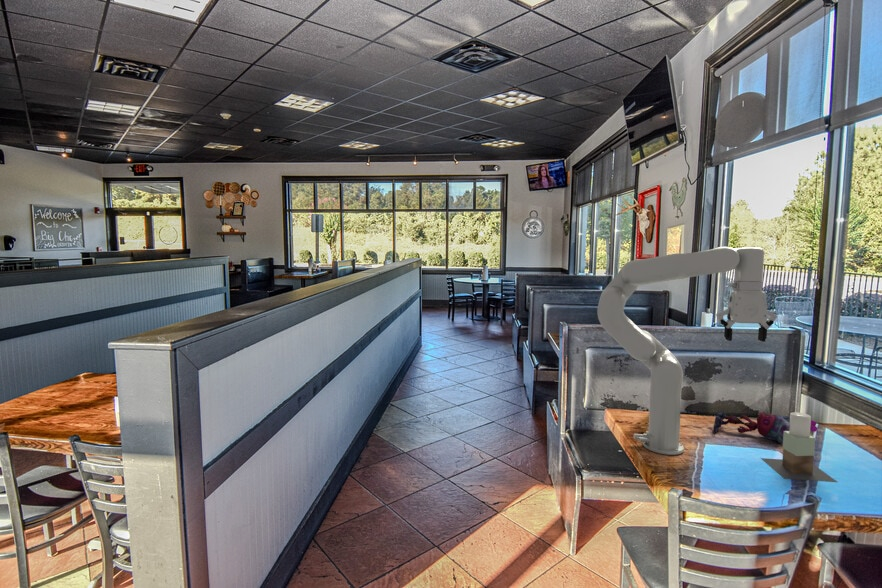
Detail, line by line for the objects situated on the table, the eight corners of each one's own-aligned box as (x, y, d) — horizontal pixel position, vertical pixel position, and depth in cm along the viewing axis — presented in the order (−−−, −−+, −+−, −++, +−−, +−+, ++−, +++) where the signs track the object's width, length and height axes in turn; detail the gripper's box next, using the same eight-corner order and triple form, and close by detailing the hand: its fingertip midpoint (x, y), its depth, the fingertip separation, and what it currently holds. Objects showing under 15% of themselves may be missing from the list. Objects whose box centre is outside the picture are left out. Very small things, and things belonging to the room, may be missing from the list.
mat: (784, 479, 140) (784, 478, 140) (760, 459, 153) (760, 458, 153) (837, 483, 137) (838, 482, 137) (808, 462, 151) (808, 461, 151)
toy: (711, 442, 176) (814, 466, 158) (711, 424, 172) (817, 446, 154) (719, 412, 187) (816, 431, 168) (719, 394, 182) (819, 411, 164)
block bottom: (792, 472, 143) (793, 455, 143) (782, 464, 149) (783, 447, 148) (812, 474, 142) (813, 456, 142) (801, 466, 148) (802, 448, 147)
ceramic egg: (794, 437, 142) (796, 417, 142) (785, 430, 147) (786, 411, 147) (813, 438, 142) (814, 418, 141) (803, 431, 147) (804, 412, 146)
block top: (796, 455, 142) (797, 438, 142) (782, 448, 148) (783, 431, 147) (814, 455, 142) (815, 437, 142) (800, 448, 148) (801, 430, 147)
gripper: (723, 287, 148) (720, 342, 150) (784, 288, 145) (781, 343, 147) (713, 285, 156) (711, 337, 157) (771, 286, 153) (768, 339, 154)
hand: (744, 340), depth 152 cm, fingers open, 9 cm apart
